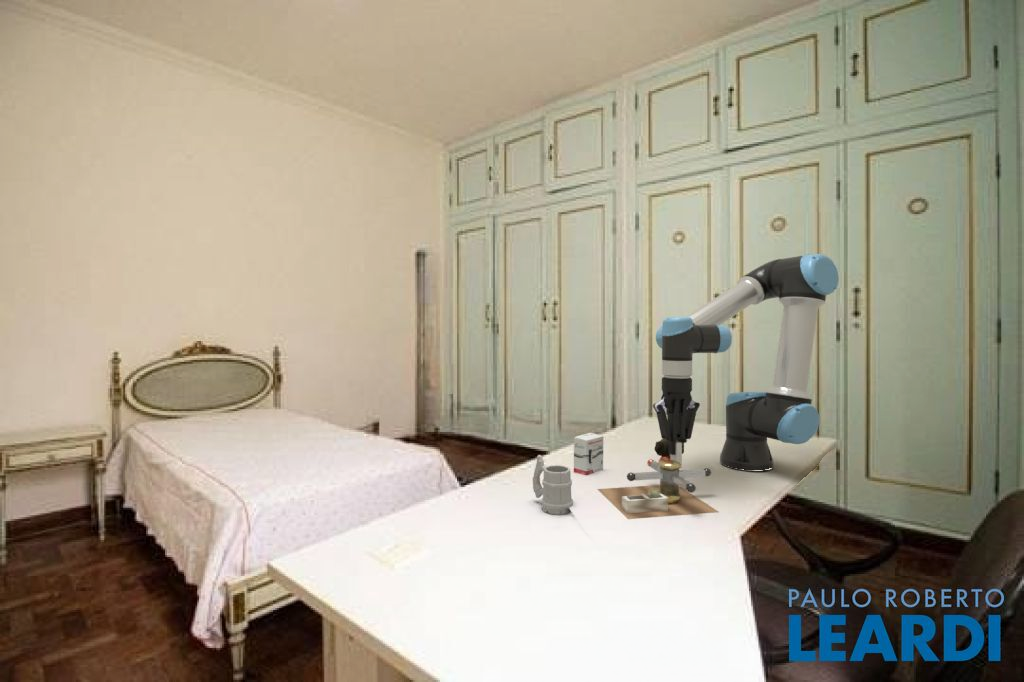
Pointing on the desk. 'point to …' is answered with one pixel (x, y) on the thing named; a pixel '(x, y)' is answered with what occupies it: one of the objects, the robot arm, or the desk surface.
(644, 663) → the desk surface
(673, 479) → the capstan
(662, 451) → the figurine
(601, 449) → the ink box
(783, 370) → the robot arm
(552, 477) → the mug
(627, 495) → the stand
